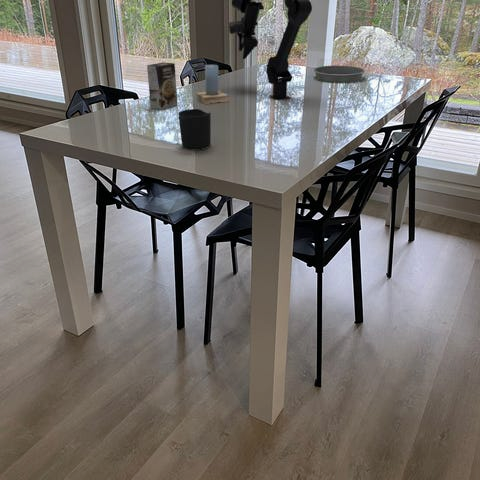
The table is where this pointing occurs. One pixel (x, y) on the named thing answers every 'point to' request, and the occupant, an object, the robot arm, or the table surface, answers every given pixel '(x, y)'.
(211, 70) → the canister
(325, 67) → the cake pan
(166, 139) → the table surface
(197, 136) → the pen holder
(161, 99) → the coffee box
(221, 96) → the oak base block
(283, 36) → the robot arm
